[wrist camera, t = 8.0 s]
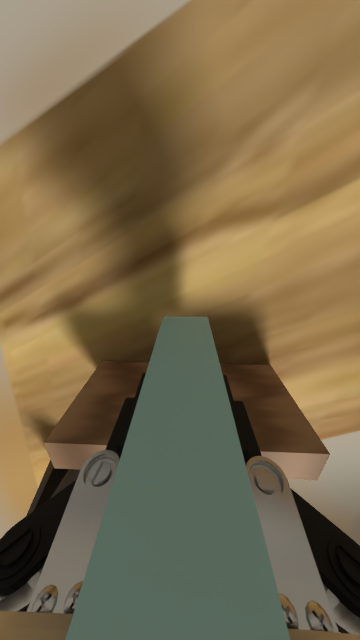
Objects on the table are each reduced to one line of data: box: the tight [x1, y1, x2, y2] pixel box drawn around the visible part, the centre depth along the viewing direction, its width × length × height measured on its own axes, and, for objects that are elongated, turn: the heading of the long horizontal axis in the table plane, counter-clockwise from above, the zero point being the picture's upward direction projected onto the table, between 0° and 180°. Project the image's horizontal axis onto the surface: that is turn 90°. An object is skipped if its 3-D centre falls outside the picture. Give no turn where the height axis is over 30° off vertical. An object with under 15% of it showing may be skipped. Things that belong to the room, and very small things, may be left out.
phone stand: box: [27, 460, 80, 516], centre depth 25 cm, size 9×6×12 cm, turn 120°
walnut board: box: [44, 361, 330, 480], centre depth 18 cm, size 20×3×10 cm, turn 90°
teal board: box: [65, 316, 290, 640], centre depth 11 cm, size 3×20×12 cm, turn 0°
